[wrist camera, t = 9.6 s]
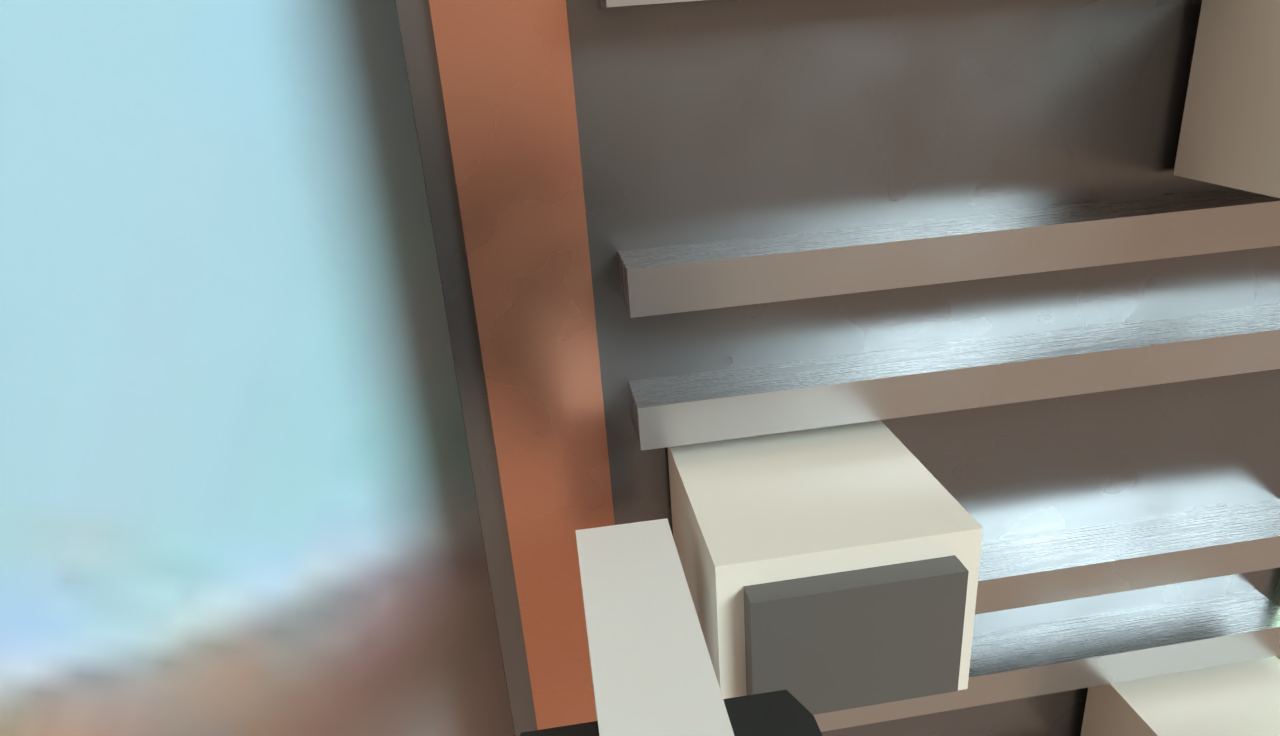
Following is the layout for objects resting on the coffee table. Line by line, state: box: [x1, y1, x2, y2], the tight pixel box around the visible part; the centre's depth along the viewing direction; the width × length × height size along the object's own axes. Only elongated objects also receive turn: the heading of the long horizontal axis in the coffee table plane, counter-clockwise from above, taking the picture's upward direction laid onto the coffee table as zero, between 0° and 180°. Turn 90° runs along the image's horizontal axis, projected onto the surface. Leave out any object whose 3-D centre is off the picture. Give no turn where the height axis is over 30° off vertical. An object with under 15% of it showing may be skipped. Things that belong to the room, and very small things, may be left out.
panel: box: [395, 0, 1280, 736], centre depth 18 cm, size 20×22×3 cm
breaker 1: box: [667, 420, 983, 715], centre depth 14 cm, size 4×3×4 cm
